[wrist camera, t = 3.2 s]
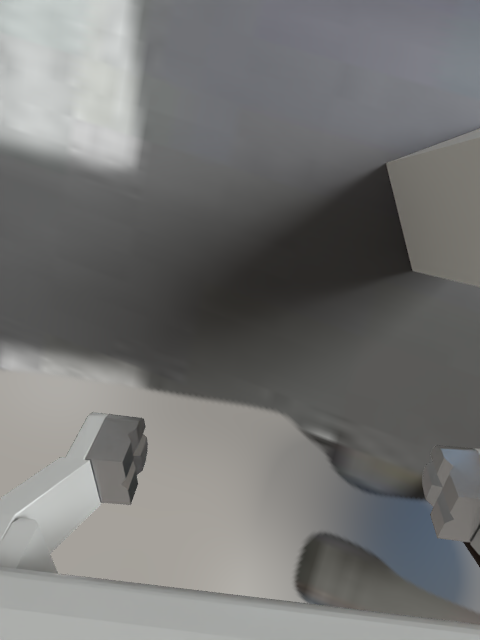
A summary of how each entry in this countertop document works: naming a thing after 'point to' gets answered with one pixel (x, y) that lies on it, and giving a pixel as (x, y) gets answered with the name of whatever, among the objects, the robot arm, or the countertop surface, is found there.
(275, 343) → the countertop surface
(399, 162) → the tall grey pillar
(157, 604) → the robot arm
